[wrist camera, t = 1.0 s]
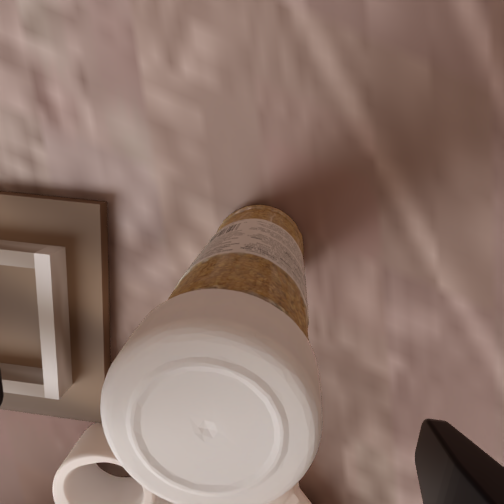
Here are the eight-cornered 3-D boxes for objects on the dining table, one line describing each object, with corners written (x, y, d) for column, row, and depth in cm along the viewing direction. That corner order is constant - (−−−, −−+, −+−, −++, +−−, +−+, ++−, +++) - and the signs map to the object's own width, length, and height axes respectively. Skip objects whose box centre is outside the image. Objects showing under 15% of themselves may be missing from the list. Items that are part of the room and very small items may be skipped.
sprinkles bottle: (240, 301, 22) (164, 547, 9) (199, 225, 21) (46, 378, 8) (320, 266, 21) (364, 487, 8) (280, 185, 20) (257, 285, 7)
